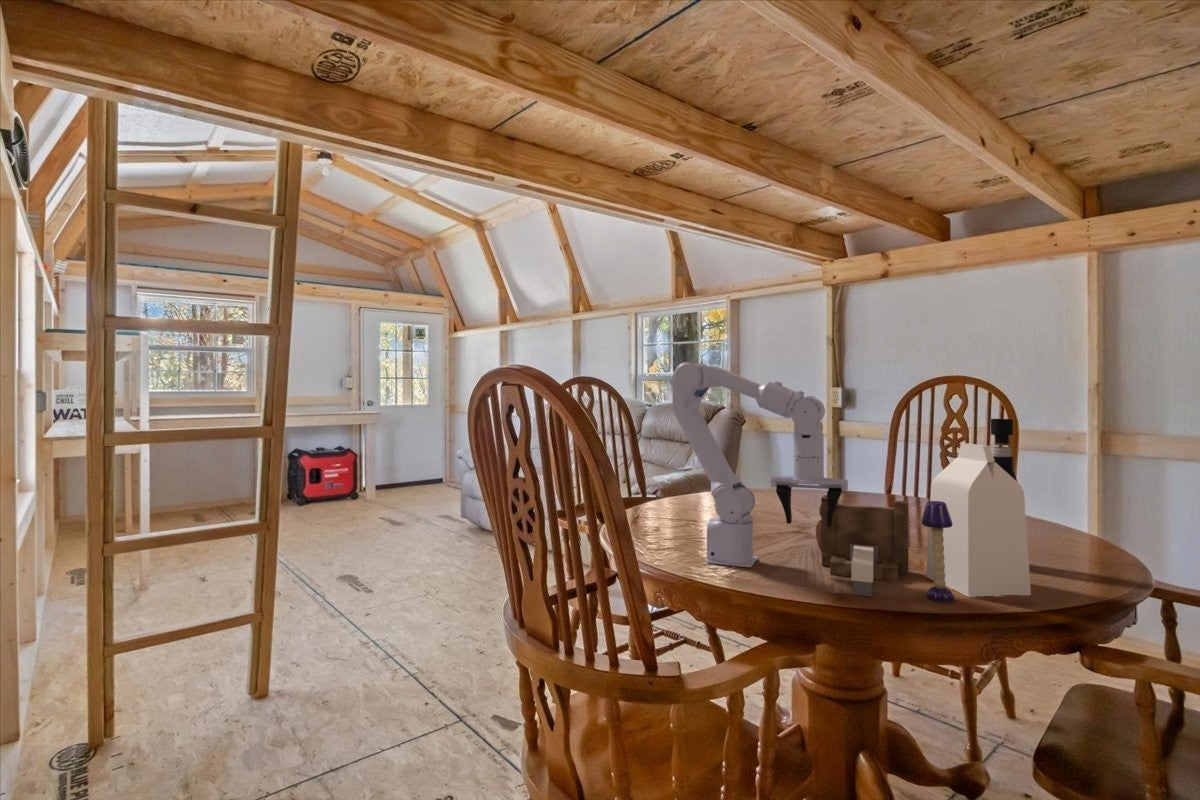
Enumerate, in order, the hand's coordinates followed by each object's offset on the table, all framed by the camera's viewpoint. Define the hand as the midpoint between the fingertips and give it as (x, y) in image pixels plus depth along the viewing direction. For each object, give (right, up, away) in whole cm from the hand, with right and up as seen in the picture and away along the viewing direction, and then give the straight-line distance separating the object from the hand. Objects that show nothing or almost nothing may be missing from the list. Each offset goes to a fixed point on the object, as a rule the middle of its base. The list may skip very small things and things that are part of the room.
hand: (809, 524), depth 122 cm
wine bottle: (+41, -9, +3) cm, 42 cm away
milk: (+27, -9, -10) cm, 31 cm away
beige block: (+7, -9, -9) cm, 15 cm away
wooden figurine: (+9, -9, +13) cm, 19 cm away
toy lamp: (+17, -10, -17) cm, 25 cm away
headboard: (+10, -9, -1) cm, 14 cm away
